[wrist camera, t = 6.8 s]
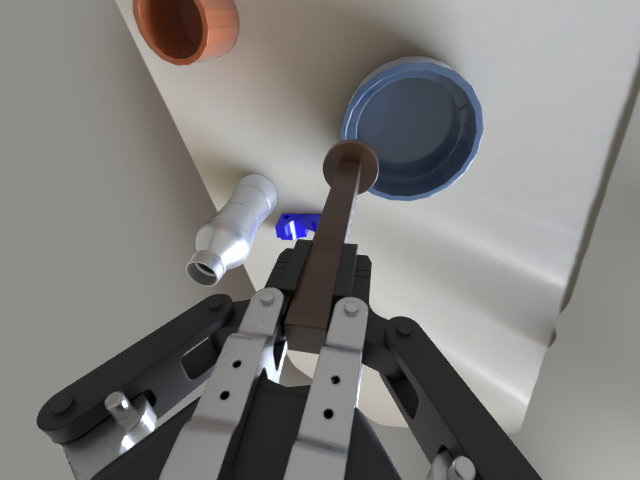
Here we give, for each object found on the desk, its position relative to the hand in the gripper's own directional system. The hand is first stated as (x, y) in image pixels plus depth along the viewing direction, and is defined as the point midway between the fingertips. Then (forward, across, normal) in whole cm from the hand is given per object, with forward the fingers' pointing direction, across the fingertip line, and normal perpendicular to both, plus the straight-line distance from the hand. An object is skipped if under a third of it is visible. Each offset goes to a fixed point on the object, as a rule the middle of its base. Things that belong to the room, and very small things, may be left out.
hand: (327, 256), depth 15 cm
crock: (+30, +19, -10) cm, 37 cm away
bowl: (+30, -5, +2) cm, 31 cm away
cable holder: (+30, +9, +18) cm, 36 cm away
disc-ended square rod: (+12, 0, 0) cm, 12 cm away
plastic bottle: (+30, +16, +12) cm, 36 cm away
